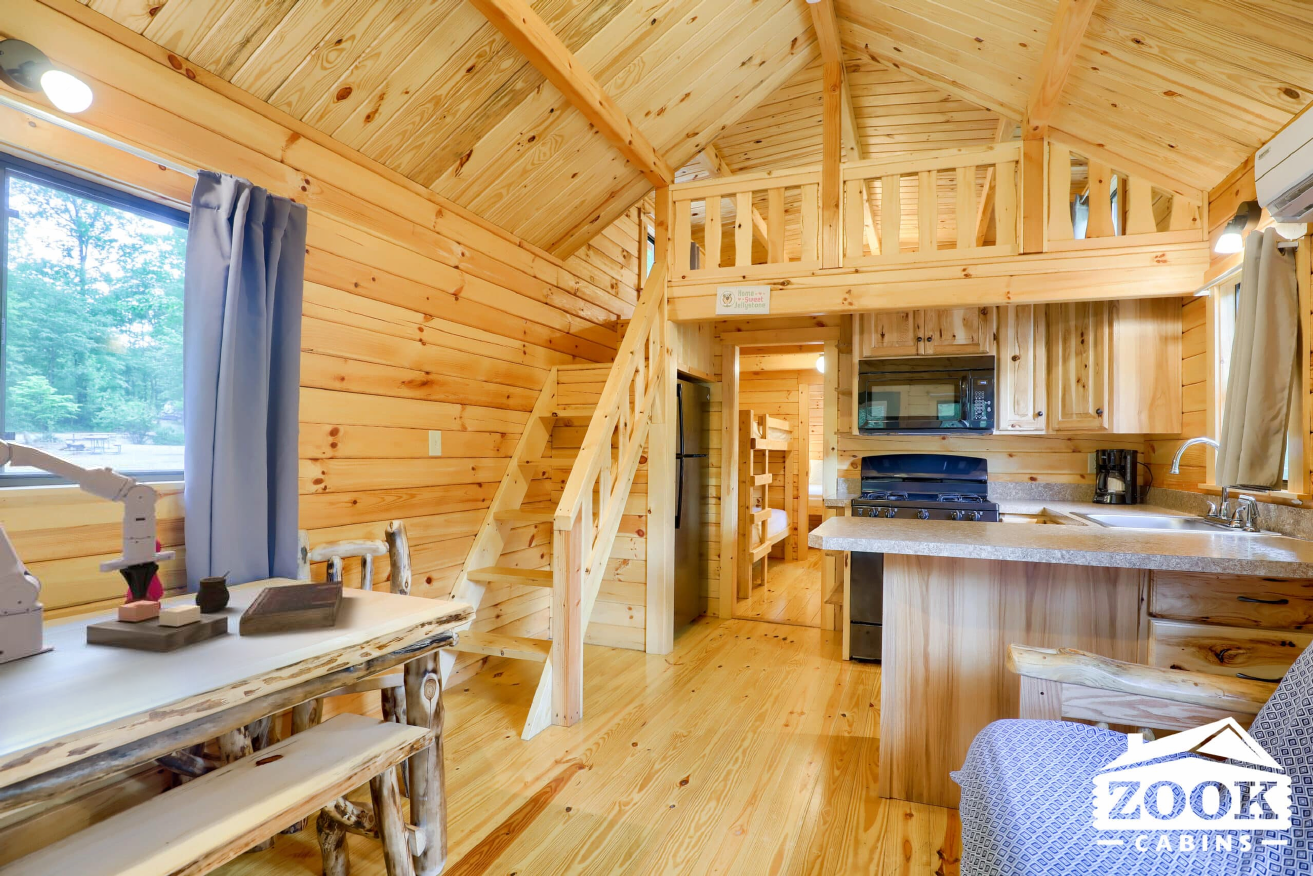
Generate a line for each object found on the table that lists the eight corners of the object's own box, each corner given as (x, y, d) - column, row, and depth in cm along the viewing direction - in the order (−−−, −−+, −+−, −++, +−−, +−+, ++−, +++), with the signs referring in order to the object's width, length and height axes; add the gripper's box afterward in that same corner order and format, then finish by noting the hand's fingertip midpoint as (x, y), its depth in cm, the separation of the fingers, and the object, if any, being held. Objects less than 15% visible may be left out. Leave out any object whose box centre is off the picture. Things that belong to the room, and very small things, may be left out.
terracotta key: (135, 621, 136) (135, 607, 136) (118, 619, 138) (118, 606, 138) (158, 615, 141) (159, 602, 141) (142, 613, 142) (142, 600, 142)
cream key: (177, 626, 133) (177, 612, 133) (159, 624, 134) (159, 610, 134) (200, 619, 138) (200, 606, 138) (182, 618, 139) (182, 604, 139)
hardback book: (263, 605, 166) (263, 586, 166) (342, 598, 173) (342, 580, 173) (239, 638, 139) (239, 615, 139) (333, 628, 146) (333, 607, 146)
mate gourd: (202, 607, 162) (202, 568, 162) (235, 605, 164) (236, 567, 164) (189, 614, 155) (190, 574, 155) (224, 613, 157) (225, 573, 157)
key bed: (164, 652, 128) (164, 635, 128) (86, 642, 134) (86, 626, 134) (227, 632, 142) (227, 616, 142) (154, 623, 147) (154, 609, 147)
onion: (160, 619, 151) (160, 585, 151) (138, 626, 146) (139, 591, 146) (138, 618, 152) (139, 585, 152) (116, 625, 146) (116, 591, 146)
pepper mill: (141, 616, 153) (143, 534, 154) (118, 614, 155) (120, 533, 155) (170, 608, 160) (172, 530, 161) (147, 607, 162) (149, 529, 162)
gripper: (116, 543, 131) (116, 608, 131) (185, 533, 145) (185, 591, 145) (92, 541, 133) (92, 605, 133) (162, 531, 147) (162, 589, 147)
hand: (139, 598), depth 139 cm, fingers closed
